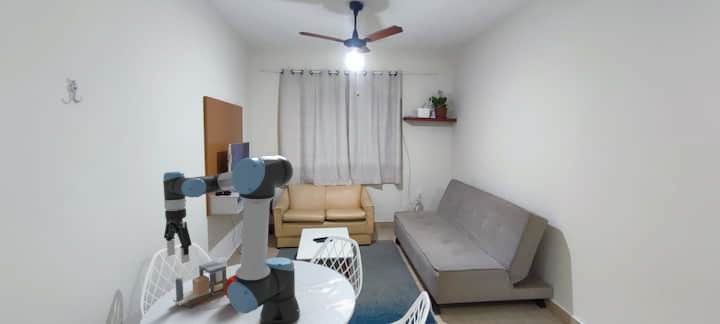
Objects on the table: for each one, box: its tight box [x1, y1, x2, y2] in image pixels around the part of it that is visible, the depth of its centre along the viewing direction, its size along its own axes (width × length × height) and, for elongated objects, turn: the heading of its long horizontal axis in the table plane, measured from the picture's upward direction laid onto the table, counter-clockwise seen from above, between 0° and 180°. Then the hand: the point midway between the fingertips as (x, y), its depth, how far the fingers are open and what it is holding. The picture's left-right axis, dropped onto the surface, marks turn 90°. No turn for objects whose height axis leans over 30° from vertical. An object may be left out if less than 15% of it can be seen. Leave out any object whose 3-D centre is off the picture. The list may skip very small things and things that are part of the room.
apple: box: [224, 274, 236, 300], centre depth 137 cm, size 10×10×12 cm
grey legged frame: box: [183, 261, 229, 309], centre depth 144 cm, size 11×22×13 cm, turn 142°
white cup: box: [209, 256, 228, 282], centre depth 160 cm, size 8×8×10 cm
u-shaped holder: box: [172, 274, 210, 306], centre depth 138 cm, size 6×14×10 cm, turn 142°
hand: (178, 258), depth 133 cm, fingers open, 13 cm apart
